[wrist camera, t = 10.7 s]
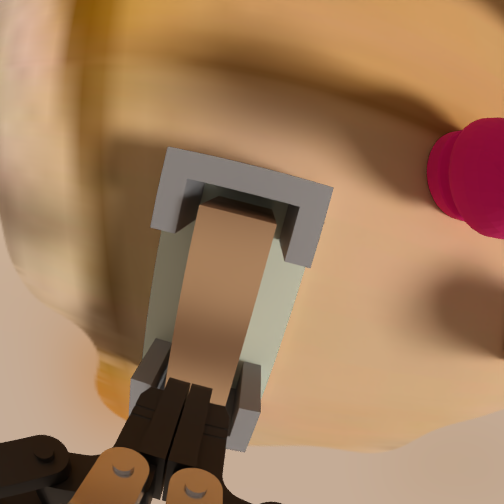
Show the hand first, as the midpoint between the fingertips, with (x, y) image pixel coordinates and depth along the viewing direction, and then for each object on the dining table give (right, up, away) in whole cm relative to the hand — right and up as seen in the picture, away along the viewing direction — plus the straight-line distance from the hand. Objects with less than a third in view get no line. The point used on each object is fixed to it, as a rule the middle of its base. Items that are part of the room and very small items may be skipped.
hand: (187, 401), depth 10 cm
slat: (0, +2, +10) cm, 10 cm away
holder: (0, +3, +11) cm, 11 cm away
